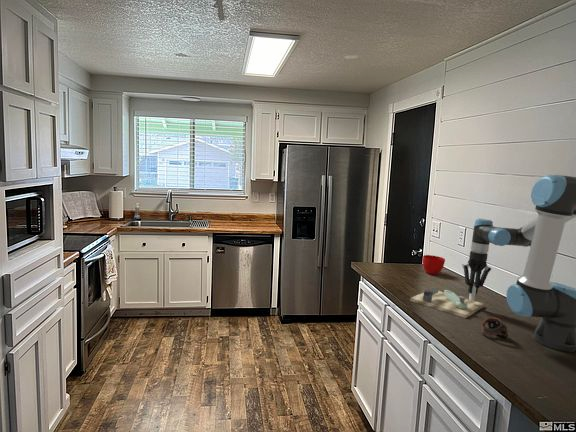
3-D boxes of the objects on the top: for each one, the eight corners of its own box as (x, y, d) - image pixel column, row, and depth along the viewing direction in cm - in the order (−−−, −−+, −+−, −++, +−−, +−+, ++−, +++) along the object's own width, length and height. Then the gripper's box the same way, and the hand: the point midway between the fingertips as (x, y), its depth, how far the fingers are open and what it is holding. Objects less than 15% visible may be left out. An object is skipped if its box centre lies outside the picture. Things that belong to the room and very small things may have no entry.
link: (468, 309, 185) (469, 305, 184) (457, 308, 185) (458, 304, 185) (451, 294, 206) (452, 290, 206) (441, 293, 206) (442, 289, 206)
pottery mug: (514, 343, 157) (509, 327, 154) (488, 350, 159) (484, 333, 156) (501, 324, 168) (496, 308, 165) (477, 330, 170) (473, 315, 167)
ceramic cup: (445, 272, 260) (448, 257, 259) (440, 277, 246) (442, 261, 244) (425, 268, 267) (427, 253, 265) (418, 272, 252) (420, 257, 251)
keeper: (437, 298, 198) (438, 289, 198) (428, 302, 191) (430, 293, 190) (431, 296, 200) (432, 287, 200) (422, 300, 193) (424, 291, 192)
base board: (483, 306, 197) (485, 293, 196) (465, 318, 178) (467, 303, 177) (431, 291, 214) (433, 279, 213) (410, 300, 195) (411, 287, 195)
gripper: (489, 251, 195) (481, 298, 198) (462, 248, 196) (454, 295, 199) (496, 254, 188) (488, 304, 191) (468, 252, 188) (460, 301, 191)
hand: (471, 299), depth 195 cm, fingers closed
